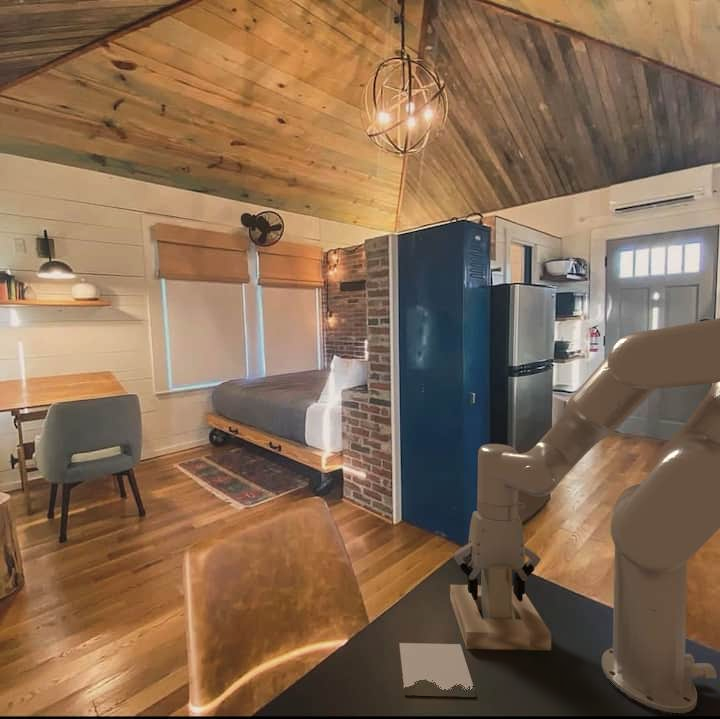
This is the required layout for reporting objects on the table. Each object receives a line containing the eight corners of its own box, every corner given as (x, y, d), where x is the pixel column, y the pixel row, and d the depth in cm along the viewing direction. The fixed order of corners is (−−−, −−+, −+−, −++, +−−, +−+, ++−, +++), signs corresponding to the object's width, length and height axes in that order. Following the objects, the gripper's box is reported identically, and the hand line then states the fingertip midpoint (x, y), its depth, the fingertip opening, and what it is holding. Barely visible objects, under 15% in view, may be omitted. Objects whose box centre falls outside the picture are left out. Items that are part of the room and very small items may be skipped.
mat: (460, 646, 74) (460, 644, 74) (476, 697, 63) (476, 695, 63) (399, 645, 74) (399, 642, 74) (404, 696, 63) (404, 693, 63)
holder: (520, 599, 88) (520, 585, 88) (551, 650, 73) (551, 633, 73) (450, 598, 88) (450, 584, 88) (466, 648, 73) (466, 632, 73)
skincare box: (512, 633, 78) (513, 569, 77) (489, 633, 78) (490, 569, 77) (501, 611, 84) (502, 552, 84) (480, 611, 84) (480, 552, 84)
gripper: (534, 502, 84) (532, 586, 84) (448, 501, 84) (447, 585, 85) (550, 517, 76) (548, 609, 77) (456, 515, 77) (455, 607, 77)
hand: (495, 596), depth 81 cm, fingers open, 8 cm apart
